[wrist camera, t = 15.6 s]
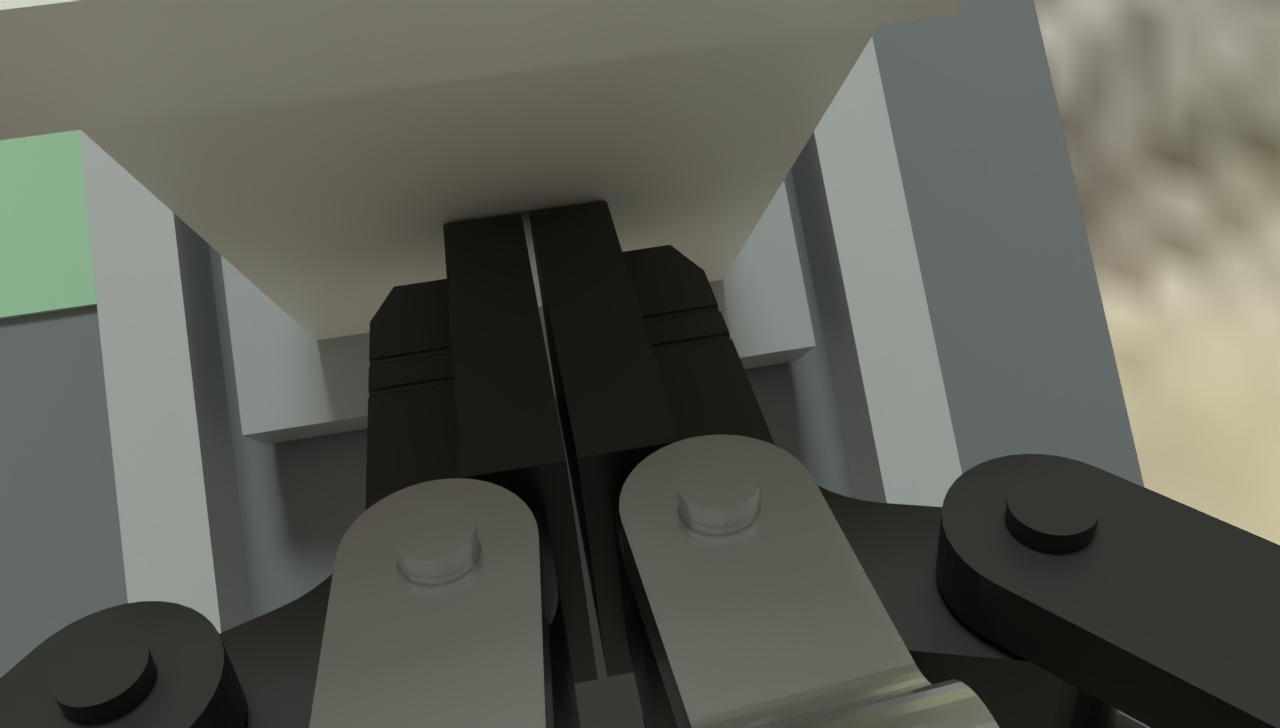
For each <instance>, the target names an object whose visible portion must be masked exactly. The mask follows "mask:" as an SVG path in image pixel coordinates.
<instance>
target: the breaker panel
mask: <svg viewBox="0 0 1280 728" xmlns="http://www.w3.org/2000/svg"><path fill="white" fill-rule="evenodd" d="M784 182H785V187H786V193H787V198H788V203H789V208H790V214H791V219H792V224H793V229H794V234H795V240H796V245H797V250H798V255H799V261H800V266H801V271H802V276H803V282H804V287H805V292H806V297H807V302H808V308H809V313H810V318H811V323H812V329H813V334H814V339H815V344H816V346H815V347H814V348H812V349H811V350H810V351H809V352H807V353H806V354H805V355H804V356H802V357H801V358H800V359H799V360H797V361H794V362H788V363H781V364H775V365H769V366H762V367H756V368H749V369H744V370H745V372H746V375H747V377H748V380H749V382H750V384H751V387H752V389H753V392H754V394H755V397H756V399H757V402H758V404H759V407H760V409H761V412H762V414H763V417H764V419H765V421H766V424H767V426H768V429H769V431H770V434H771V436H772V439H773V441H774V443H775V445H776V446H777V447H779V448H781V449H783V450H785V451H786V452H788V453H789V454H791V455H792V456H794V457H795V458H797V459H798V460H799V461H800V462H801V463H802V464H803V465H804V466H805V467H806V469H807V470H808V471H809V473H810V474H811V476H812V477H813V479H814V481H815V482H816V484H817V485H818V486H820V487H822V488H824V489H827V490H829V491H832V492H834V493H837V494H840V495H843V496H846V497H851V498H855V499H859V500H864V501H872V502H880V503H892V504H906V505H920V506H934V507H943V501H944V498H945V496H946V494H947V492H948V489H949V488H950V487H951V486H952V484H953V483H954V482H955V480H956V479H957V478H959V477H960V476H961V475H962V474H963V473H965V472H966V471H967V470H969V469H971V468H973V467H974V466H976V465H978V464H980V463H983V462H986V461H988V460H991V459H994V458H999V457H1004V456H1008V455H1018V454H1046V455H1053V456H1061V457H1066V458H1070V459H1074V460H1078V461H1081V462H1084V463H1087V464H1089V465H1092V466H1095V467H1098V468H1100V469H1102V470H1105V471H1107V472H1109V473H1112V474H1114V475H1116V476H1119V477H1121V478H1123V479H1126V480H1128V481H1130V482H1133V483H1135V484H1137V485H1140V486H1142V487H1144V485H1143V480H1142V476H1141V471H1140V467H1139V463H1138V458H1137V454H1136V449H1135V445H1134V441H1133V436H1132V432H1131V427H1130V423H1129V419H1128V414H1127V410H1126V405H1125V401H1124V397H1123V392H1122V388H1121V383H1120V379H1119V375H1118V370H1117V366H1116V361H1115V357H1114V353H1113V348H1112V344H1111V339H1110V335H1109V331H1108V326H1107V322H1106V317H1105V313H1104V309H1103V304H1102V300H1101V295H1100V291H1099V287H1098V282H1097V278H1096V273H1095V269H1094V265H1093V260H1092V256H1091V251H1090V247H1089V243H1088V238H1087V234H1086V229H1085V225H1084V221H1083V216H1082V212H1081V207H1080V203H1079V199H1078V194H1077V190H1076V186H1075V181H1074V177H1073V172H1072V168H1071V164H1070V159H1069V155H1068V150H1067V146H1066V142H1065V137H1064V133H1063V128H1062V124H1061V120H1060V115H1059V111H1058V106H1057V102H1056V98H1055V93H1054V89H1053V84H1052V80H1051V76H1050V71H1049V67H1048V62H1047V58H1046V54H1045V49H1044V45H1043V40H1042V36H1041V32H1040V27H1039V23H1038V18H1037V14H1036V10H1035V5H1034V1H1033V0H966V1H965V2H964V4H963V5H962V6H961V8H960V9H959V10H958V12H957V13H956V14H955V15H953V16H946V17H938V18H930V19H923V20H915V21H907V22H900V23H892V24H885V25H879V26H878V27H877V29H876V31H875V32H874V34H873V35H872V37H871V39H870V40H869V42H868V44H867V45H866V47H865V48H864V50H863V52H862V53H861V55H860V57H859V58H858V60H857V62H856V63H855V65H854V66H853V68H852V70H851V71H850V73H849V75H848V76H847V78H846V79H845V81H844V83H843V84H842V86H841V88H840V89H839V91H838V93H837V94H836V96H835V97H834V99H833V101H832V102H831V104H830V106H829V107H828V109H827V110H826V112H825V114H824V115H823V117H822V119H821V120H820V122H819V124H818V125H817V127H816V128H815V130H814V132H813V133H812V135H811V137H810V138H809V140H808V141H807V143H806V145H805V146H804V148H803V150H802V151H801V153H800V155H799V156H798V158H797V159H796V161H795V163H794V164H793V166H792V168H791V169H790V171H789V172H788V174H787V176H786V177H785V179H784ZM555 401H556V407H557V412H558V418H559V423H560V429H561V434H562V440H563V445H564V451H565V456H566V462H567V469H568V476H569V482H570V489H571V496H572V503H573V510H574V517H575V524H576V531H577V538H578V545H579V552H580V559H581V566H582V572H583V579H584V586H585V593H586V600H587V607H588V614H589V621H590V628H591V635H592V642H593V649H594V655H595V662H596V669H597V676H598V679H597V680H591V681H586V682H581V683H575V684H574V686H575V693H576V699H577V706H578V712H579V718H580V725H581V728H644V724H643V715H642V709H641V704H640V700H639V695H638V690H637V685H636V680H635V676H634V672H632V673H627V674H621V675H616V676H610V677H607V672H606V667H605V661H604V656H603V650H602V645H601V640H600V634H599V629H598V623H597V618H596V612H595V607H594V602H593V596H592V591H591V585H590V580H589V574H588V569H587V563H586V558H585V553H584V547H583V542H582V536H581V531H580V525H579V520H578V515H577V509H576V504H575V498H574V493H573V487H572V482H571V477H570V471H569V466H568V460H567V455H566V449H565V444H564V439H563V433H562V428H561V422H560V417H559V411H558V406H557V400H556V399H555ZM366 464H367V429H361V430H355V431H349V432H342V433H336V434H329V435H323V436H317V437H310V438H304V439H298V440H291V441H285V442H279V443H272V444H264V443H261V442H259V441H256V440H254V439H251V438H248V437H246V436H243V435H242V428H241V419H240V411H239V403H238V394H237V386H236V378H235V369H234V361H233V352H232V344H231V336H230V327H229V319H228V311H227V302H226V294H225V286H224V277H223V269H222V261H221V254H219V253H218V252H217V251H216V250H215V249H214V248H213V247H212V246H210V245H209V244H208V243H207V242H206V241H205V240H204V239H203V238H202V237H200V236H199V235H198V234H197V233H196V232H195V231H194V230H193V229H191V228H190V227H189V226H188V225H187V224H186V223H185V222H184V221H182V220H181V219H180V218H179V217H178V216H177V215H176V214H175V213H173V212H172V211H171V210H170V209H169V208H168V207H167V206H166V205H164V204H163V203H162V202H161V201H160V200H159V199H158V198H157V197H156V196H154V195H153V194H152V193H151V192H150V191H149V190H148V189H147V188H145V187H144V186H143V185H142V184H141V183H140V182H139V181H138V180H136V179H135V178H134V177H133V176H132V175H131V174H130V173H129V172H127V171H126V170H125V169H124V168H123V167H122V166H121V165H120V164H119V163H117V162H116V161H115V160H114V159H113V158H112V157H111V156H110V155H108V154H107V153H106V152H105V151H104V150H103V149H102V148H101V147H99V146H98V145H97V144H96V143H95V142H94V141H93V140H92V139H90V138H89V137H88V136H87V135H86V134H85V133H84V132H83V131H81V130H75V131H67V132H59V133H52V134H44V135H37V136H29V137H21V138H14V139H6V140H0V678H1V677H2V676H4V675H5V674H6V673H7V672H8V671H9V670H10V669H12V668H13V667H14V666H15V665H16V664H17V663H18V662H20V661H21V660H22V659H23V658H24V657H25V656H26V655H28V654H29V653H30V652H31V651H32V650H33V649H35V648H36V647H37V646H38V645H40V644H41V643H42V642H43V641H45V640H46V639H47V638H49V637H50V636H51V635H53V634H54V633H56V632H58V631H59V630H61V629H62V628H64V627H66V626H67V625H69V624H71V623H73V622H75V621H77V620H79V619H81V618H83V617H85V616H87V615H90V614H93V613H95V612H98V611H101V610H103V609H106V608H110V607H114V606H118V605H122V604H126V603H134V602H141V601H164V602H171V603H177V604H180V605H183V606H186V607H189V608H192V609H194V610H196V611H197V612H199V613H201V614H202V615H204V616H205V617H206V618H207V619H208V620H209V621H210V622H211V623H212V624H213V625H214V626H215V628H216V630H217V631H218V633H219V634H220V633H222V632H224V631H227V630H229V629H231V628H233V627H236V626H238V625H240V624H243V623H245V622H247V621H250V620H252V619H254V618H257V617H259V616H261V615H264V614H266V613H268V612H271V611H273V610H275V609H278V608H280V607H282V606H284V605H286V604H288V603H290V602H292V601H294V600H296V599H298V598H299V597H301V596H303V595H304V594H306V593H308V592H309V591H311V590H312V589H314V588H315V587H316V586H318V585H319V584H320V583H322V582H323V581H324V580H325V579H327V578H328V577H329V576H330V575H331V574H332V573H333V569H334V563H335V557H336V554H337V550H338V546H339V544H340V542H341V541H342V539H343V537H344V535H345V533H346V532H347V530H348V529H349V528H350V526H351V525H352V524H353V522H354V521H355V520H356V519H357V518H358V517H359V516H361V515H362V514H363V513H364V512H365V506H366ZM1119 713H1121V714H1123V715H1125V716H1127V717H1128V718H1130V719H1132V720H1134V721H1136V722H1138V723H1139V724H1141V725H1143V726H1145V727H1147V728H1150V727H1149V726H1147V725H1145V724H1143V723H1141V722H1139V721H1138V720H1136V719H1134V718H1132V717H1130V716H1128V715H1127V714H1125V713H1123V712H1121V711H1119Z"/></svg>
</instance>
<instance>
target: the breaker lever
mask: <svg viewBox="0 0 1280 728" xmlns="http://www.w3.org/2000/svg"><path fill="white" fill-rule="evenodd" d="M965 1H966V0H0V140H6V139H14V138H21V137H29V136H37V135H44V134H52V133H59V132H67V131H75V130H81V131H83V132H84V133H85V134H86V135H87V136H88V137H89V138H90V139H92V140H93V141H94V142H95V143H96V144H97V145H98V146H99V147H101V148H102V149H103V150H104V151H105V152H106V153H107V154H108V155H110V156H111V157H112V158H113V159H114V160H115V161H116V162H117V163H119V164H120V165H121V166H122V167H123V168H124V169H125V170H126V171H127V172H129V173H130V174H131V175H132V176H133V177H134V178H135V179H136V180H138V181H139V182H140V183H141V184H142V185H143V186H144V187H145V188H147V189H148V190H149V191H150V192H151V193H152V194H153V195H154V196H156V197H157V198H158V199H159V200H160V201H161V202H162V203H163V204H164V205H166V206H167V207H168V208H169V209H170V210H171V211H172V212H173V213H175V214H176V215H177V216H178V217H179V218H180V219H181V220H182V221H184V222H185V223H186V224H187V225H188V226H189V227H190V228H191V229H193V230H194V231H195V232H196V233H197V234H198V235H199V236H200V237H202V238H203V239H204V240H205V241H206V242H207V243H208V244H209V245H210V246H212V247H213V248H214V249H215V250H216V251H217V252H218V253H219V254H221V261H222V269H223V277H224V286H225V294H226V302H227V311H228V319H229V327H230V336H231V344H232V352H233V361H234V369H235V378H236V386H237V394H238V403H239V411H240V419H241V428H242V435H243V436H246V437H248V438H251V439H254V440H256V441H259V442H261V443H264V444H272V443H279V442H285V441H291V440H298V439H304V438H310V437H317V436H323V435H329V434H336V433H342V432H349V431H355V430H361V429H367V423H368V397H369V390H368V381H369V366H370V361H369V340H370V321H371V320H372V318H373V317H374V315H375V314H376V312H377V311H378V309H379V308H380V306H381V305H382V303H383V302H384V301H385V299H386V298H387V296H388V295H389V293H390V292H391V290H392V289H393V287H394V286H401V285H408V284H414V283H421V282H428V281H434V280H441V279H447V274H446V260H445V246H444V233H443V225H446V224H453V223H460V222H467V221H474V220H480V219H487V218H494V217H501V216H508V215H515V214H521V216H522V221H523V226H524V232H525V237H526V243H527V248H528V254H529V259H530V265H531V270H532V275H533V281H534V286H535V292H536V297H537V303H538V308H539V314H540V319H541V325H542V330H543V336H544V341H545V347H546V352H547V358H548V363H549V368H550V374H551V379H552V385H553V390H554V396H555V399H556V394H555V388H554V381H553V375H552V369H551V362H550V356H549V349H548V342H547V336H546V329H545V322H544V315H543V308H542V301H541V294H540V287H539V281H538V274H537V267H536V260H535V253H534V246H533V239H532V232H531V225H530V216H529V212H533V211H540V210H547V209H554V208H561V207H567V206H574V205H581V204H588V203H595V202H602V201H606V202H607V204H608V207H609V210H610V213H611V216H612V220H613V223H614V226H615V230H616V233H617V236H618V239H619V243H620V246H621V249H622V252H625V251H632V250H638V249H645V248H652V247H658V246H665V245H671V246H673V247H674V248H675V249H677V250H678V251H679V252H681V253H682V254H683V255H684V256H686V257H687V258H688V259H690V260H691V261H692V262H694V263H695V264H696V265H698V266H699V267H700V268H702V269H703V270H704V271H705V273H706V276H707V278H708V281H709V283H710V286H711V288H712V291H713V293H714V296H715V298H716V301H717V303H718V309H719V311H721V313H722V315H723V318H724V320H725V323H726V325H727V328H728V330H729V335H730V340H731V339H732V340H733V343H734V345H735V347H736V350H737V352H738V355H739V357H740V360H741V362H742V365H743V367H744V369H749V368H756V367H762V366H769V365H775V364H781V363H788V362H794V361H797V360H799V359H800V358H801V357H802V356H804V355H805V354H806V353H807V352H809V351H810V350H811V349H812V348H814V347H815V346H816V344H815V339H814V334H813V329H812V323H811V318H810V313H809V308H808V302H807V297H806V292H805V287H804V282H803V276H802V271H801V266H800V261H799V255H798V250H797V245H796V240H795V234H794V229H793V224H792V219H791V214H790V208H789V203H788V198H787V193H786V187H785V182H784V179H785V177H786V176H787V174H788V172H789V171H790V169H791V168H792V166H793V164H794V163H795V161H796V159H797V158H798V156H799V155H800V153H801V151H802V150H803V148H804V146H805V145H806V143H807V141H808V140H809V138H810V137H811V135H812V133H813V132H814V130H815V128H816V127H817V125H818V124H819V122H820V120H821V119H822V117H823V115H824V114H825V112H826V110H827V109H828V107H829V106H830V104H831V102H832V101H833V99H834V97H835V96H836V94H837V93H838V91H839V89H840V88H841V86H842V84H843V83H844V81H845V79H846V78H847V76H848V75H849V73H850V71H851V70H852V68H853V66H854V65H855V63H856V62H857V60H858V58H859V57H860V55H861V53H862V52H863V50H864V48H865V47H866V45H867V44H868V42H869V40H870V39H871V37H872V35H873V34H874V32H875V31H876V29H877V27H878V26H879V25H885V24H892V23H900V22H907V21H915V20H923V19H930V18H938V17H946V16H953V15H955V14H956V13H957V12H958V10H959V9H960V8H961V6H962V5H963V4H964V2H965Z"/></svg>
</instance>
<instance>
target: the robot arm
mask: <svg viewBox="0 0 1280 728" xmlns="http://www.w3.org/2000/svg"><path fill="white" fill-rule="evenodd" d="M529 216H530V225H531V232H532V239H533V246H534V253H535V260H536V267H537V274H538V281H539V287H540V294H541V301H542V308H543V315H544V322H545V329H546V336H547V342H548V349H549V356H550V362H551V369H552V375H553V381H554V388H555V394H556V400H557V406H558V411H559V417H560V422H561V428H562V433H563V439H564V444H565V449H566V455H567V460H568V466H569V471H570V477H571V482H572V487H573V493H574V498H575V504H576V509H577V515H578V520H579V525H580V531H581V536H582V542H583V547H584V553H585V558H586V563H587V569H588V574H589V580H590V585H591V591H592V596H593V602H594V607H595V612H596V618H597V623H598V629H599V634H600V640H601V645H602V650H603V656H604V661H605V667H606V672H607V677H610V676H616V675H621V674H627V673H632V672H634V676H635V680H636V685H637V690H638V695H639V700H640V704H641V709H642V715H643V724H644V728H1147V727H1145V726H1143V725H1141V724H1139V723H1138V722H1136V721H1134V720H1132V719H1130V718H1128V717H1127V716H1125V715H1123V714H1121V713H1119V711H1121V712H1123V713H1125V714H1127V715H1128V716H1130V717H1132V718H1134V719H1136V720H1138V721H1139V722H1141V723H1143V724H1145V725H1147V726H1149V727H1150V728H1280V545H1277V544H1275V543H1273V542H1270V541H1268V540H1266V539H1263V538H1261V537H1259V536H1256V535H1254V534H1252V533H1249V532H1247V531H1245V530H1242V529H1240V528H1238V527H1235V526H1233V525H1231V524H1228V523H1226V522H1224V521H1221V520H1219V519H1217V518H1214V517H1212V516H1210V515H1207V514H1205V513H1203V512H1200V511H1198V510H1196V509H1193V508H1191V507H1189V506H1186V505H1184V504H1182V503H1179V502H1177V501H1175V500H1172V499H1170V498H1168V497H1165V496H1163V495H1161V494H1158V493H1156V492H1154V491H1151V490H1149V489H1147V488H1144V487H1142V486H1140V485H1137V484H1135V483H1133V482H1130V481H1128V480H1126V479H1123V478H1121V477H1119V476H1116V475H1114V474H1112V473H1109V472H1107V471H1105V470H1102V469H1100V468H1098V467H1095V466H1092V465H1089V464H1087V463H1084V462H1081V461H1078V460H1074V459H1070V458H1066V457H1061V456H1053V455H1046V454H1018V455H1008V456H1004V457H999V458H994V459H991V460H988V461H986V462H983V463H980V464H978V465H976V466H974V467H973V468H971V469H969V470H967V471H966V472H965V473H963V474H962V475H961V476H960V477H959V478H957V479H956V480H955V482H954V483H953V484H952V486H951V487H950V488H949V489H948V492H947V494H946V496H945V498H944V501H943V507H934V506H920V505H906V504H892V503H880V502H872V501H864V500H859V499H855V498H851V497H846V496H843V495H840V494H837V493H834V492H832V491H829V490H827V489H824V488H822V487H820V486H818V485H817V484H816V482H815V481H814V479H813V477H812V476H811V474H810V473H809V471H808V470H807V469H806V467H805V466H804V465H803V464H802V463H801V462H800V461H799V460H798V459H797V458H795V457H794V456H792V455H791V454H789V453H788V452H786V451H785V450H783V449H781V448H779V447H777V446H776V445H775V443H774V441H773V439H772V436H771V434H770V431H769V429H768V426H767V424H766V421H765V419H764V417H763V414H762V412H761V409H760V407H759V404H758V402H757V399H756V397H755V394H754V392H753V389H752V387H751V384H750V382H749V380H748V377H747V375H746V372H745V370H744V367H743V365H742V362H741V360H740V357H739V355H738V352H737V350H736V347H735V345H734V343H733V340H732V339H731V340H730V335H729V330H728V328H727V325H726V323H725V320H724V318H723V315H722V313H721V311H719V309H718V303H717V301H716V298H715V296H714V293H713V291H712V288H711V286H710V283H709V281H708V278H707V276H706V273H705V271H704V270H703V269H702V268H700V267H699V266H698V265H696V264H695V263H694V262H692V261H691V260H690V259H688V258H687V257H686V256H684V255H683V254H682V253H681V252H679V251H678V250H677V249H675V248H674V247H673V246H671V245H665V246H658V247H652V248H645V249H638V250H632V251H625V252H622V249H621V246H620V243H619V239H618V236H617V233H616V230H615V226H614V223H613V220H612V216H611V213H610V210H609V207H608V204H607V202H606V201H602V202H595V203H588V204H581V205H574V206H567V207H561V208H554V209H547V210H540V211H533V212H529ZM443 233H444V246H445V260H446V274H447V279H441V280H434V281H428V282H421V283H414V284H408V285H401V286H394V287H393V289H392V290H391V292H390V293H389V295H388V296H387V298H386V299H385V301H384V302H383V303H382V305H381V306H380V308H379V309H378V311H377V312H376V314H375V315H374V317H373V318H372V320H371V321H370V340H369V361H370V366H369V381H368V390H369V397H368V423H367V464H366V506H365V512H364V513H363V514H362V515H361V516H359V517H358V518H357V519H356V520H355V521H354V522H353V524H352V525H351V526H350V528H349V529H348V530H347V532H346V533H345V535H344V537H343V539H342V541H341V542H340V544H339V546H338V550H337V554H336V557H335V563H334V569H333V573H332V574H331V575H330V576H329V577H328V578H327V579H325V580H324V581H323V582H322V583H320V584H319V585H318V586H316V587H315V588H314V589H312V590H311V591H309V592H308V593H306V594H304V595H303V596H301V597H299V598H298V599H296V600H294V601H292V602H290V603H288V604H286V605H284V606H282V607H280V608H278V609H275V610H273V611H271V612H268V613H266V614H264V615H261V616H259V617H257V618H254V619H252V620H250V621H247V622H245V623H243V624H240V625H238V626H236V627H233V628H231V629H229V630H227V631H224V632H222V633H220V634H219V633H218V631H217V630H216V628H215V626H214V625H213V624H212V623H211V622H210V621H209V620H208V619H207V618H206V617H205V616H204V615H202V614H201V613H199V612H197V611H196V610H194V609H192V608H189V607H186V606H183V605H180V604H177V603H171V602H164V601H141V602H134V603H126V604H122V605H118V606H114V607H110V608H106V609H103V610H101V611H98V612H95V613H93V614H90V615H87V616H85V617H83V618H81V619H79V620H77V621H75V622H73V623H71V624H69V625H67V626H66V627H64V628H62V629H61V630H59V631H58V632H56V633H54V634H53V635H51V636H50V637H49V638H47V639H46V640H45V641H43V642H42V643H41V644H40V645H38V646H37V647H36V648H35V649H33V650H32V651H31V652H30V653H29V654H28V655H26V656H25V657H24V658H23V659H22V660H21V661H20V662H18V663H17V664H16V665H15V666H14V667H13V668H12V669H10V670H9V671H8V672H7V673H6V674H5V675H4V676H2V677H1V678H0V728H581V725H580V718H579V712H578V706H577V699H576V693H575V686H574V684H575V683H581V682H586V681H591V680H597V679H598V676H597V669H596V662H595V655H594V649H593V642H592V635H591V628H590V621H589V614H588V607H587V600H586V593H585V586H584V579H583V572H582V566H581V559H580V552H579V545H578V538H577V531H576V524H575V517H574V510H573V503H572V496H571V489H570V482H569V476H568V469H567V462H566V456H565V451H564V445H563V440H562V434H561V429H560V423H559V418H558V412H557V407H556V401H555V396H554V390H553V385H552V379H551V374H550V368H549V363H548V358H547V352H546V347H545V341H544V336H543V330H542V325H541V319H540V314H539V308H538V303H537V297H536V292H535V286H534V281H533V275H532V270H531V265H530V259H529V254H528V248H527V243H526V237H525V232H524V226H523V221H522V216H521V214H515V215H508V216H501V217H494V218H487V219H480V220H474V221H467V222H460V223H453V224H446V225H443Z"/></svg>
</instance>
